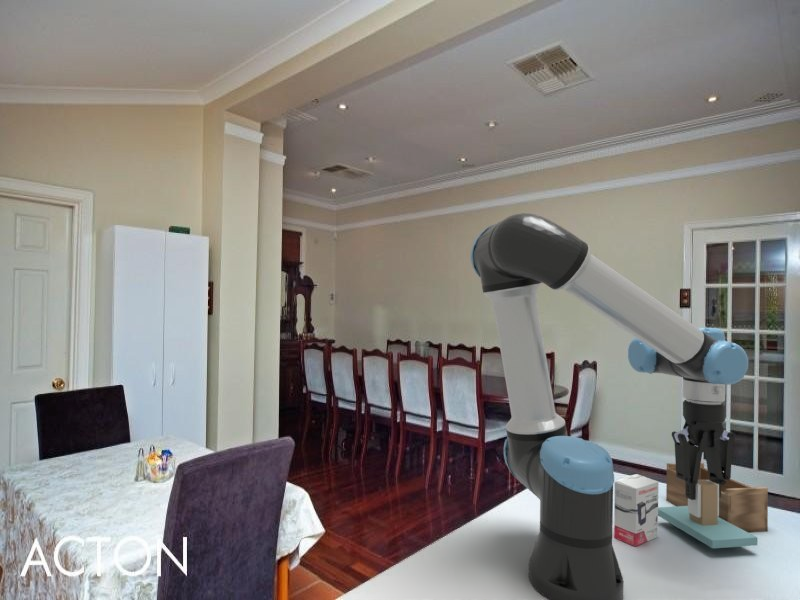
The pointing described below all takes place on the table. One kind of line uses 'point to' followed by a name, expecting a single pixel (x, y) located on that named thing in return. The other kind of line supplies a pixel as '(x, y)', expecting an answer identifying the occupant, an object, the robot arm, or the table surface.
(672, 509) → the lid
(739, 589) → the table surface
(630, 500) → the ink box
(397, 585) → the table surface
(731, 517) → the box
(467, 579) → the table surface
